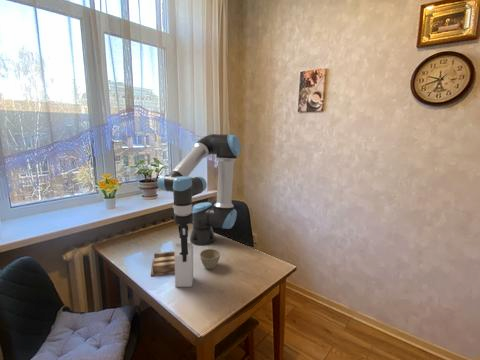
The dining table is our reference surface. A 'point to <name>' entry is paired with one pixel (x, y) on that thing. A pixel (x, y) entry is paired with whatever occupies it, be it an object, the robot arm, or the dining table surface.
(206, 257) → the flower pot
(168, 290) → the dining table surface
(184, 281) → the milk carton
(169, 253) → the display stand
